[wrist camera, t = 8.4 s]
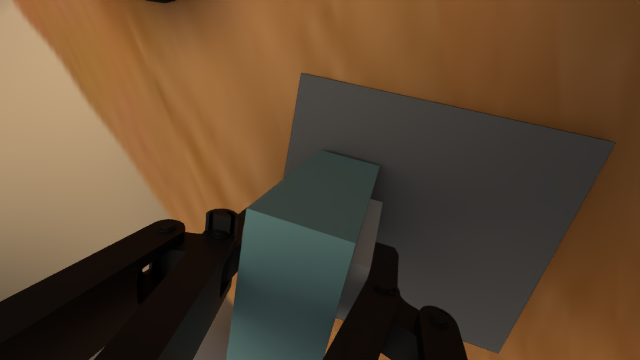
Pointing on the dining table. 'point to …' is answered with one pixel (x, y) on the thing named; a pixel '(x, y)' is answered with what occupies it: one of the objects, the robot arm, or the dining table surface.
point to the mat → (455, 194)
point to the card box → (298, 259)
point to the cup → (161, 1)
